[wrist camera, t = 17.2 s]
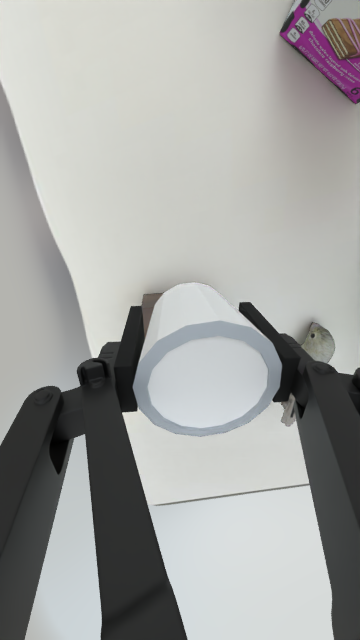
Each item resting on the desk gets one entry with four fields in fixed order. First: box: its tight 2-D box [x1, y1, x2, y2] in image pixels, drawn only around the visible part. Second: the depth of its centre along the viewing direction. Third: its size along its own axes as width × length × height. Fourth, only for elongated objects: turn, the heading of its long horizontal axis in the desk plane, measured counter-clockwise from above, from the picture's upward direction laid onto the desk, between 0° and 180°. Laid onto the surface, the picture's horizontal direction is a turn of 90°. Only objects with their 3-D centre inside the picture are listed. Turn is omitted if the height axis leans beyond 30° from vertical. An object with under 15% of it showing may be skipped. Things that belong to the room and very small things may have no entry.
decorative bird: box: [281, 323, 335, 426], centre depth 37 cm, size 5×16×8 cm, turn 162°
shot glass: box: [133, 282, 282, 437], centre depth 13 cm, size 7×7×7 cm
